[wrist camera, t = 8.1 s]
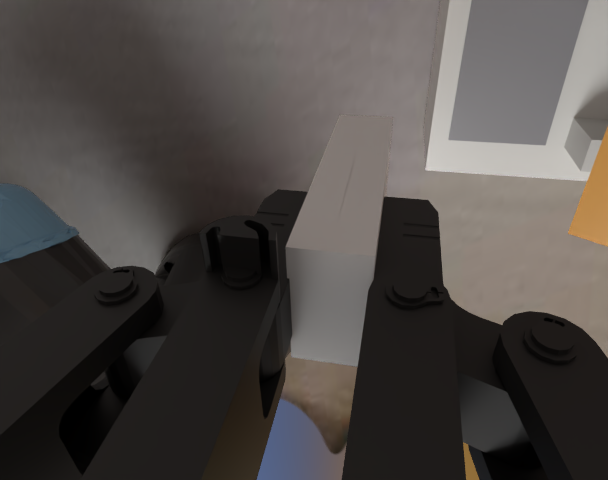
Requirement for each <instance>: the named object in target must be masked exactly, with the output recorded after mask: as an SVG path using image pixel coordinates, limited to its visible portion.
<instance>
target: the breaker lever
mask: <svg viewBox="0 0 608 480" xmlns="http://www.w3.org/2000/svg"><path fill="white" fill-rule="evenodd" d="M568 234H571V235H574V236H577V237H580V238H583V239H586V240H589V241H592V242H595V243H598V244H601V245H604V246H608V126H607V129H606V132H605V134H604V137H603V140H602V143H601V145H600V148H599V151H598V153H597V156H596V159H595V161H594V164H593V167H592V170H591V172H590V175H589V178H588V180H587V183H586V186H585V189H584V191H583V194H582V197H581V199H580V202H579V205H578V207H577V210H576V213H575V216H574V218H573V221H572V224H571V226H570V229H569V232H568Z"/></svg>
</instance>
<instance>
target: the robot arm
mask: <svg viewBox="0 0 608 480" xmlns="http://www.w3.org/2000/svg"><path fill="white" fill-rule="evenodd" d="M392 125H393V117H377V116H357V115H339V118H338V120H337V122H336V125H335V127H334V130H333V132H332V135H331V137H330V139H329V142H328V144H327V147H326V149H325V152H324V154H323V157H322V159H321V161H320V164H319V166H318V169H317V171H316V174H315V176H314V179H313V181H312V183H311V186H310V188H309V191H308V192H302V191H289V190H277V191H276V192H274V193H273V194H271V195H270V196H268V197H267V198H265V199H264V201H263V202H262V204H261V206H260V208H259V209H258V211H257V214H256V215H255V217H252V216H232V217H227V218H223V219H219V220H217V221H215V222H213V223H210V224H208V225H207V226H206V227H205V228H204V229H202V230H201V231H200V232H199V233H197V234H194V235H191V236H188V237H186V238H184V239H183V240H181V241H180V242H178V243H177V244H176V245H175V246H174V247H173V248H172V249H171V250H170V251H169V253H168V254H167V255H166V257H165V258H164V259H163V261H162V262H161V264H160V265H159V267H158V269H157V271H156V274H155V275H154V273H153V272H151V271H149V270H147V269H146V268H142V267H136V266H126V267H117V268H113V269H110V268H109V267H108V266H107V265H106V264H105V263H104V262H103V260H102V259H101V258H100V257H99V256H98V255H97V254H96V253H95V252H94V251H93V250H92V249H91V248H90V247H89V246H88V245H87V244H86V243H85V242H84V241H83V240H82V239H81V238H80V237H79V236H78V234H79V232H78V230H77V229H76V228H75V227H72V226H68V225H67V224H66V223H65V222H64V221H63V220H62V219H61V218H60V217H58V216H57V215H56V214H55V213H54V212H53V211H52V210H51V209H50V208H49V207H48V206H47V205H46V204H45V203H43V202H42V201H41V200H40V199H39V198H38V197H37V196H36V195H35V194H34V193H32V192H31V191H29V190H28V189H26V188H24V187H21V186H18V185H14V184H2V183H1V184H0V480H256V479H257V476H258V472H259V469H260V466H261V462H262V458H263V455H264V451H265V448H266V445H267V441H268V438H269V434H270V431H271V427H272V424H273V420H274V417H275V413H276V410H277V406H278V403H279V400H280V396H281V393H282V389H283V386H284V382H285V373H286V367H285V358H286V357H287V355H288V354H289V353H290V352H291V357H295V358H302V359H308V360H315V361H322V362H329V363H335V364H342V365H349V366H356V367H358V368H357V375H356V382H355V389H354V396H353V403H352V410H351V417H350V425H349V432H348V439H347V446H346V453H345V460H344V467H343V475H342V480H466V474H465V462H464V450H463V442H464V443H466V444H468V446H469V451H470V454H471V457H472V460H473V462H474V465H475V468H476V471H477V474H478V476H479V479H480V480H608V358H607V357H606V355H605V354H604V353H603V351H602V350H601V349H600V347H599V346H598V345H597V343H596V342H595V341H594V340H593V339H592V338H591V337H590V336H589V335H588V334H587V333H586V332H585V331H584V330H583V329H581V328H580V327H578V326H576V325H575V324H573V323H571V322H570V321H568V320H566V319H564V318H561V317H558V316H554V315H551V314H548V313H542V312H531V311H528V312H523V313H518V314H514V315H512V316H511V317H510V318H508V319H507V320H505V321H504V323H503V325H500V324H497V323H494V322H491V321H489V320H486V319H483V318H480V317H478V316H476V315H473V314H471V313H469V312H467V311H465V310H464V309H462V308H461V307H459V306H458V305H457V304H456V303H455V302H454V301H453V300H451V298H450V296H449V293H448V290H447V289H446V288H445V287H444V285H443V275H442V261H441V246H440V232H439V217H438V212H437V211H436V209H435V208H434V207H433V206H432V204H431V203H430V202H429V201H428V200H420V199H408V198H395V197H386V189H387V178H388V168H389V157H390V146H391V135H392Z"/></svg>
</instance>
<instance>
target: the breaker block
mask: <svg viewBox="0 0 608 480" xmlns="http://www.w3.org/2000/svg"><path fill="white" fill-rule="evenodd" d="M607 126H608V0H440V7H439V14H438V22H437V29H436V37H435V44H434V52H433V59H432V67H431V74H430V82H429V89H428V97H427V104H426V112H425V119H424V127H423V129H424V153H425V170H429V171H444V172H459V173H474V174H489V175H504V176H519V177H534V178H548V179H563V180H578V181H587V180H588V178H589V175H590V172H591V170H592V167H593V164H594V161H595V159H596V156H597V153H598V151H599V148H600V145H601V143H602V140H603V137H604V134H605V132H606V129H607Z"/></svg>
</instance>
